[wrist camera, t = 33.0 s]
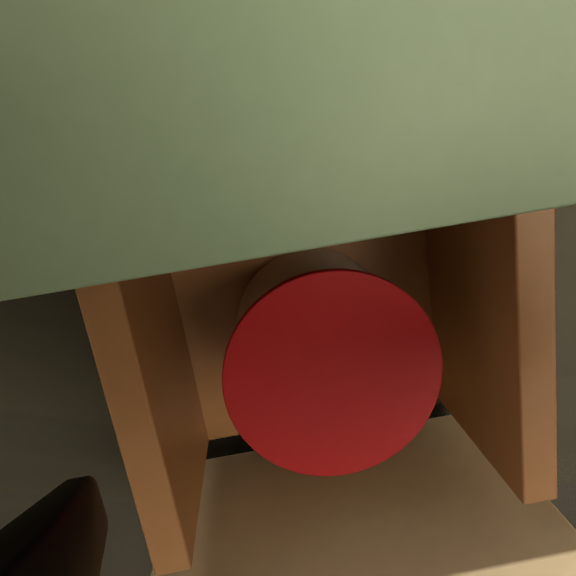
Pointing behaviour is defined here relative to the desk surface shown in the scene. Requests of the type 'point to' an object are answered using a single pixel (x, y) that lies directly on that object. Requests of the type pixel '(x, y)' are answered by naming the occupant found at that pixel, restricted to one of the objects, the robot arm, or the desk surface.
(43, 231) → the green drawer cabinet
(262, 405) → the cylinder
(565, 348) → the desk surface
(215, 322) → the pod drawer
